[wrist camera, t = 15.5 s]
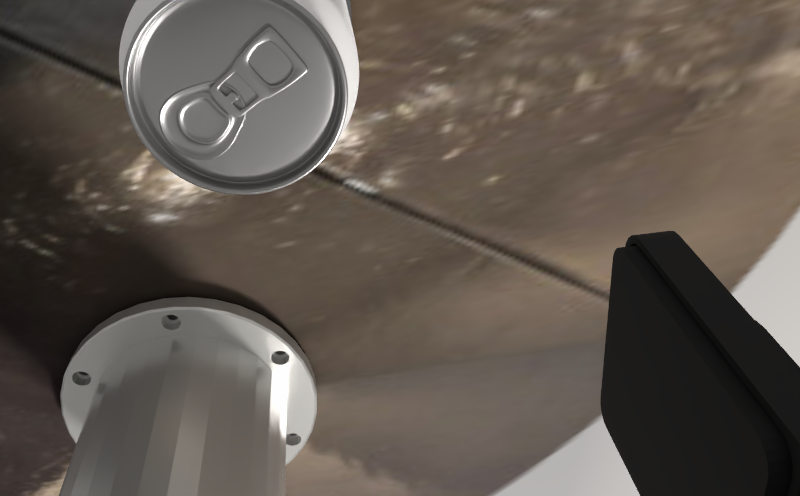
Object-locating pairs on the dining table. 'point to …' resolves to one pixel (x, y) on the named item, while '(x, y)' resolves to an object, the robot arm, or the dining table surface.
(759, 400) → the robot arm
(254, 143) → the can
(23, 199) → the dining table surface
